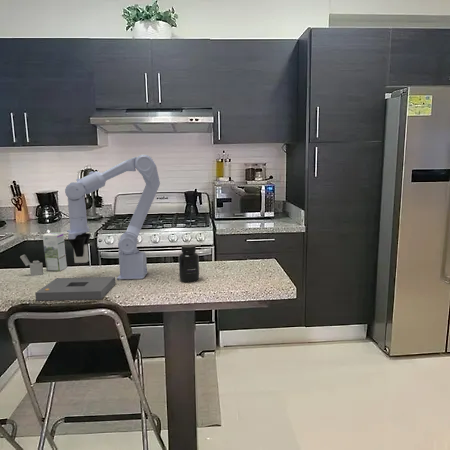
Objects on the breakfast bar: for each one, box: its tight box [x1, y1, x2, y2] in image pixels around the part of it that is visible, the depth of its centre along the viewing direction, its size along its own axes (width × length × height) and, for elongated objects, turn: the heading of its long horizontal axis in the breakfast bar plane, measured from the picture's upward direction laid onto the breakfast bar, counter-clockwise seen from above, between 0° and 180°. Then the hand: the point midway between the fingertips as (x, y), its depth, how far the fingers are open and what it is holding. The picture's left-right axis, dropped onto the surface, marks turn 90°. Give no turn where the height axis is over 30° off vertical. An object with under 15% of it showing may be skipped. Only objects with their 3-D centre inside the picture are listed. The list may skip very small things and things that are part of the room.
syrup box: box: [42, 231, 68, 272], centre depth 153 cm, size 6×6×14 cm
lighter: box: [19, 254, 44, 277], centre depth 147 cm, size 7×2×8 cm, turn 101°
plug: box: [72, 244, 90, 264], centre depth 138 cm, size 4×3×7 cm, turn 90°
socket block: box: [35, 276, 117, 302], centre depth 126 cm, size 20×15×3 cm
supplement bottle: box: [178, 244, 200, 283], centre depth 135 cm, size 7×7×12 cm
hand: (81, 255), depth 138 cm, fingers closed on plug, 3 cm apart
